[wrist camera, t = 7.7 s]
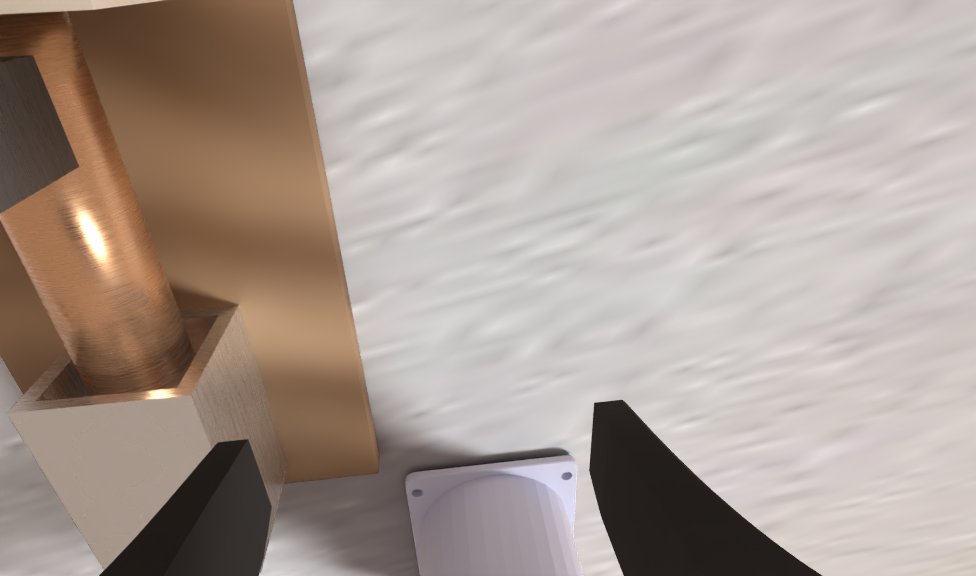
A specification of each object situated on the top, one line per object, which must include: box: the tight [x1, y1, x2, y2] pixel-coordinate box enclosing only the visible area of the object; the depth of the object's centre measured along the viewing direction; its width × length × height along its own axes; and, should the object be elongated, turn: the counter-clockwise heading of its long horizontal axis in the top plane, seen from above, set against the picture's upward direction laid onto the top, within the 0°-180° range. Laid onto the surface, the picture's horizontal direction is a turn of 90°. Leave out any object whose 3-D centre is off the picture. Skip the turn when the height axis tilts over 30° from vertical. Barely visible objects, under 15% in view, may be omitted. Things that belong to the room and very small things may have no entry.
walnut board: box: [0, 0, 379, 484], centre depth 19 cm, size 23×12×1 cm, turn 2°
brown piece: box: [0, 11, 196, 396], centre depth 13 cm, size 14×3×6 cm, turn 2°
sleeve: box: [6, 305, 288, 573], centre depth 19 cm, size 8×5×5 cm, turn 2°
